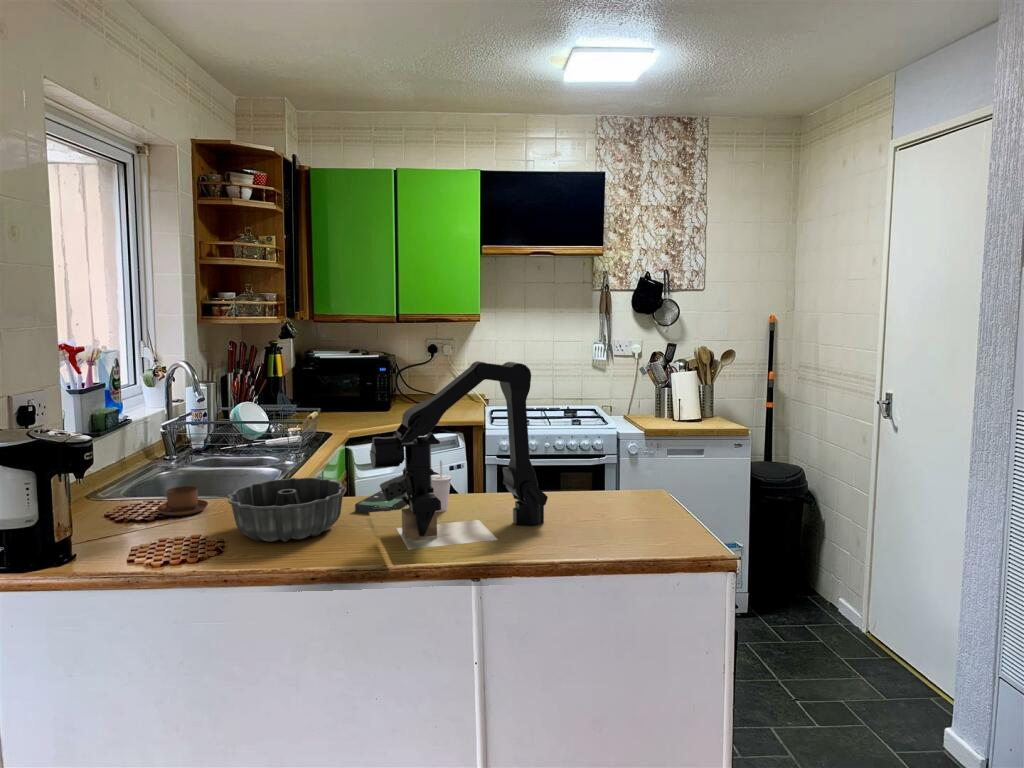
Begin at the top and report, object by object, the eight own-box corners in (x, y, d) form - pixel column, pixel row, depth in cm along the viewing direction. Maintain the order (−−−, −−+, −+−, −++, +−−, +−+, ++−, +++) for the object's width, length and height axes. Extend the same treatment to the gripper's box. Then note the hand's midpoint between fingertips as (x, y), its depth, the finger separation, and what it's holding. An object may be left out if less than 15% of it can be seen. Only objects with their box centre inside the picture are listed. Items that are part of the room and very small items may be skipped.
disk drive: (380, 500, 205) (354, 513, 191) (380, 490, 205) (354, 503, 191) (415, 502, 202) (391, 516, 188) (415, 492, 202) (390, 506, 188)
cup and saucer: (147, 517, 188) (145, 493, 188) (181, 505, 200) (180, 482, 199) (185, 521, 185) (183, 497, 184) (218, 508, 196) (217, 485, 195)
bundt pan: (245, 558, 157) (243, 512, 156) (217, 527, 179) (215, 487, 178) (362, 536, 172) (361, 494, 171) (323, 510, 194) (322, 472, 193)
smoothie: (450, 517, 185) (450, 463, 184) (425, 517, 186) (424, 463, 184) (453, 510, 192) (452, 457, 190) (428, 510, 192) (427, 457, 190)
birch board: (478, 524, 180) (478, 519, 179) (497, 544, 164) (497, 539, 164) (396, 533, 173) (396, 528, 173) (408, 554, 158) (408, 549, 158)
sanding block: (432, 531, 170) (432, 506, 170) (437, 538, 166) (436, 511, 165) (402, 534, 168) (401, 508, 168) (405, 541, 163) (405, 514, 163)
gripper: (376, 458, 171) (378, 524, 173) (388, 476, 154) (390, 549, 156) (423, 455, 175) (425, 519, 177) (440, 472, 157) (442, 543, 159)
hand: (419, 532), depth 167 cm, fingers closed on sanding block, 5 cm apart
